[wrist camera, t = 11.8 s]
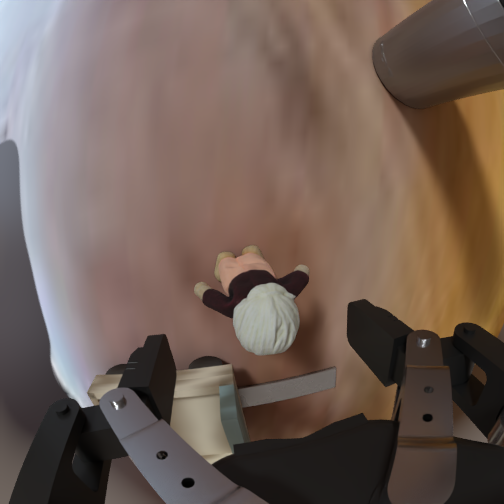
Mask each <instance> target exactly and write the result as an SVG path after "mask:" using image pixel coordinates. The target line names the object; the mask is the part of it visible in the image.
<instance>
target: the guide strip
mask: <svg viewBox="0 0 504 504" xmlns="http://www.w3.org/2000/svg"><path fill="white" fill-rule="evenodd" d="M335 382H336V367H331V368H328V369H324V370H320V371H316V372H312V373H308V374H304V375H300V376H295V377H291V378H286V379H282V380H277V381H272V382H267V383H262V384H256V385H250V386H244V387H238V388H237V389H238V393H239V397H240V401H241V405H242V408H243V407H249V406H255V405H261V404H266V403H271V402H276V401H281V400H286V399H290V398H295V397H299V396H303V395H307V394H311V393H315V392H319V391H323V390H326V389H330V388H333V387H335Z"/></svg>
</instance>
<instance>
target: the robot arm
mask: <svg viewBox="0 0 504 504" xmlns="http://www.w3.org/2000/svg"><path fill="white" fill-rule="evenodd" d="M372 58H373V63H374V66H375V69H376V72H377V74H378V76H379V78H380V79H381V81H382V83H383V84H384V85H385V87H386V88H387V89H388V90H389V91H390V93H391V94H392V95H393V96H394V97H396V98H397V99H398V100H399V101H401V102H402V103H404V104H406V105H407V106H410V107H413V108H418V109H422V108H427V107H431V106H434V105H438V104H441V103H445V102H450V101H453V100H457V99H461V98H465V97H469V96H474V95H478V94H482V93H487V92H492V91H497V90H502V89H504V0H432V1H431V2H429V3H428V4H426V5H425V6H423V7H422V8H420V9H419V10H417V11H416V12H414V13H413V14H412V15H410V16H409V17H407V18H406V19H405V20H403V21H402V22H401V23H399V24H398V25H396V26H395V27H394V28H392V29H391V30H390V31H388V32H387V33H386V34H384V35H383V36H382V37H381V38H379V39H378V40H377V41H376V43H375V44H374V47H373V51H372ZM347 338H348V342H349V344H350V346H351V347H352V348H353V349H354V350H355V351H356V353H357V354H358V355H359V356H360V357H361V359H362V360H363V361H364V362H365V363H366V364H367V366H368V367H369V368H370V369H371V370H372V372H373V373H374V374H375V375H376V376H377V377H378V379H379V380H380V381H381V382H382V383H383V385H384V386H385V387H387V386H390V385H392V384H395V383H396V384H397V385H398V386H397V390H396V395H395V401H394V407H393V413H392V418H391V420H367V419H366V417H365V416H364V414H363V413H361V414H358V415H355V416H352V417H350V418H347V419H344V420H340V421H337V422H334V423H332V424H330V425H328V426H326V427H325V428H323V429H321V430H319V431H317V432H315V433H313V434H311V435H309V436H307V437H304V438H296V439H265V440H259V441H253V442H247V443H240V444H233V448H234V454H231V455H228V456H226V457H224V458H221V459H220V460H218V461H216V462H214V463H213V464H210V463H209V462H207V461H206V460H205V459H204V458H203V457H202V456H201V455H199V454H198V453H197V452H196V451H195V450H194V449H193V448H192V447H191V446H190V445H189V444H188V443H187V442H185V441H184V440H183V439H182V438H181V437H180V436H179V435H178V434H177V433H176V432H175V431H174V430H173V429H172V428H171V427H170V422H171V414H172V406H173V399H174V392H175V385H176V377H177V373H176V366H175V362H174V359H173V356H172V353H171V350H170V346H169V343H168V339H167V337H166V335H165V334H160V335H150V336H147V339H146V341H145V344H144V346H143V347H141V348H137V349H136V350H135V351H134V352H133V353H132V354H131V356H130V358H129V360H128V363H127V365H126V367H125V370H124V372H123V375H122V377H121V380H120V382H119V385H118V387H117V388H115V389H112V390H110V391H108V392H107V393H105V394H104V395H103V396H102V397H101V399H100V402H99V405H96V406H91V407H86V408H81V407H80V405H79V404H78V402H77V401H76V400H74V399H71V398H65V399H60V400H58V401H56V402H54V403H53V404H52V405H51V406H50V407H49V409H48V411H47V413H46V415H45V417H44V419H43V421H42V423H41V425H40V427H39V429H38V431H37V433H36V435H35V438H34V440H33V442H32V444H31V447H30V449H29V451H28V454H27V456H26V458H25V461H24V463H23V466H22V468H21V470H20V473H19V476H18V478H17V481H16V484H15V487H14V490H13V492H12V495H11V499H10V501H9V504H105V496H106V490H107V482H108V476H109V471H110V466H111V460H112V459H115V458H121V457H125V456H130V458H131V459H132V460H133V462H134V463H135V465H136V466H137V467H138V469H139V470H140V471H141V473H142V474H143V475H144V477H145V478H146V479H147V481H148V482H149V483H150V484H151V486H152V487H153V488H154V489H155V490H156V492H157V493H158V494H159V495H160V496H161V498H162V499H163V500H164V501H165V502H166V503H167V504H504V343H503V342H502V341H500V340H499V339H498V338H496V337H495V336H493V335H492V334H490V333H489V332H487V331H486V330H484V329H483V328H481V327H480V326H478V325H476V324H473V323H461V324H458V325H457V326H456V327H455V330H454V334H453V336H451V337H445V338H440V337H439V336H438V335H437V334H436V333H434V332H432V331H429V330H416V331H414V330H412V329H411V328H410V327H408V326H407V325H406V324H404V323H403V322H402V321H400V320H398V318H396V317H395V316H393V315H392V314H391V313H390V312H388V311H387V310H385V309H382V308H380V307H377V306H376V307H375V306H374V305H372V304H371V303H370V302H369V301H367V300H366V299H362V300H358V301H354V302H350V303H349V304H348V311H347ZM474 364H476V365H478V366H479V367H480V368H481V369H482V370H483V371H485V373H486V376H487V382H486V384H485V386H484V385H483V384H482V383H481V382H480V381H479V380H478V379H477V378H476V377H475V376H473V375H472V374H471V373H472V370H473V367H474ZM452 400H453V401H454V402H455V403H456V404H457V405H458V406H459V407H460V408H461V410H462V411H463V412H464V413H465V414H466V415H467V416H468V417H469V418H470V420H471V421H472V422H473V423H474V424H475V425H476V426H477V428H478V429H479V430H480V431H481V432H482V433H483V434H484V436H485V437H486V438H487V439H488V443H482V442H477V441H472V440H467V439H462V438H457V437H453V406H452ZM74 453H75V457H74ZM73 457H74V460H73ZM72 460H73V463H72Z"/></svg>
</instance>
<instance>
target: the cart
mask: <svg viewBox="0 0 504 504" xmlns="http://www.w3.org/2000/svg"><path fill="white" fill-rule="evenodd" d="M126 365H127V364H120V365H116V366H114V367H112V368H110V369H109V370H108V371H107V373H106V375H96V377H95V379H94V380H93V382H92V384H91V386H90V388H89V390H88V392H87V394H88V396H89V397H90V399H91V401H92V403H93V404H94V406H96V405H99V402H100V399H101V397H102V396H103V395H104V394H105V393H107V392H108V391H110V390H112V389H115V388H117V387H118V385H119V382H120V380H121V377H122V375H123V372H124V370H125V367H126ZM176 373H177V377H176V385H175V392H174V399H173V406H172V414H171V422H170V427H171V428H172V429H173V430H174V431H175V432H176V433H177V434H178V435H179V436H180V437H181V438H182V439H183V440H184V441H185V442H187V443H188V444H189V445H190V446H191V447H192V448H193V449H194V450H195V451H196V452H197V453H198V454H199V455H201V456H202V457H203V458H204V459H205V460H206V461H207V462H209V463H210V464H213V463H214V462H216V461H218V460H220V459H221V458H224V457H226V456H228V455H231V454H234V448H233V444H240V443H247V442H251V440H250V437H249V433H248V429H247V425H246V421H245V417H244V413H243V409H242V405H241V401H240V397H239V393H238V389H237V385H236V381H235V376H234V372H233V368H232V364H227V365H222V361H221V360H220V359H219V358H217V357H213V356H205V357H201V358H198V359H196V360H194V361H193V362H192V363H191V364H190V365H189V369H188V370H179V371H176ZM129 457H130V456H129ZM130 459H131V458H130ZM131 460H132V459H131ZM132 461H133V460H132ZM133 463H134V462H133ZM134 464H135V463H134Z"/></svg>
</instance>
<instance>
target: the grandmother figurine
mask: <svg viewBox="0 0 504 504" xmlns="http://www.w3.org/2000/svg"><path fill="white" fill-rule="evenodd" d="M215 277H216V279H217V280H218V281H220V282H222V286H223V288H224V291H225V292H226V293H227V294H228V295H229V297H227V296H225V295H224V294H222V293H221V292H219V291H217V290H215V289H212V288H211V287H209V286H208V285H207V284H206V283H204V282H199V283H198V284H196V286H195V288H194V292H195V294H196V295H197V296H198V297H200V299H201V300H202V301H203V303H204V305H206V306H207V307H209V308H211V309H213V310H215V311H218V312H220V313H222V314H223V315H225V316H227V317H230V318H233V326H234V328H235V331H236V336H237V338H238V340H239V341H240V342H241V345H242V346H243V347H244V348H245V349H246V350H247V351H249V352H253V353H255V354H256V355H270V354H277V353H282V352H284V351H286V350H287V349H288V348H289V347H290V346H291V344H292V343H293V341H294V340H295V337H296V334H297V331H298V328H299V323H300V319H299V313H298V309H297V306H296V304H295V303H294V299H295V298H296V297H297V296H298V295H299V294H300V293H301V291H302V290H303V289H304V288H305V286H306V285H307V284H308V282H309V269H308V267H307V266H305V265H299V266H297V267H296V268H295V270H294V272H292V273H290V274H288V275H286V276H284V277H282V278H280V279H276V276H275V274H274V272H273V270H272V268H271V266H270V265H269V264H268V263H267V262H266V261H265V260H264V258H263V256H262V253H261V251H260V249H259V248H258V247H257V246H254V245H251V246H248V247H245V248H244V249H243V251H242V256H239V257H237V258H236V257H235V255H234V254H233V253H231V252H222V253H220V254H219V255H218V258H217V262H216V267H215Z"/></svg>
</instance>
